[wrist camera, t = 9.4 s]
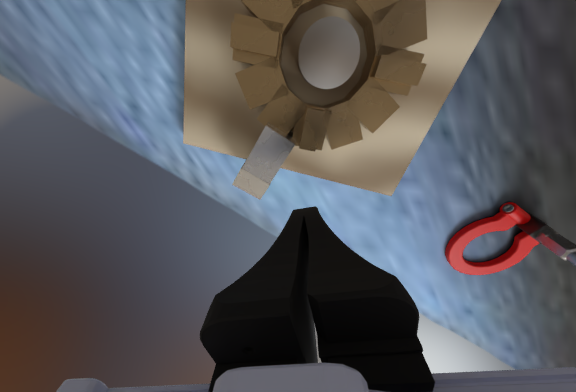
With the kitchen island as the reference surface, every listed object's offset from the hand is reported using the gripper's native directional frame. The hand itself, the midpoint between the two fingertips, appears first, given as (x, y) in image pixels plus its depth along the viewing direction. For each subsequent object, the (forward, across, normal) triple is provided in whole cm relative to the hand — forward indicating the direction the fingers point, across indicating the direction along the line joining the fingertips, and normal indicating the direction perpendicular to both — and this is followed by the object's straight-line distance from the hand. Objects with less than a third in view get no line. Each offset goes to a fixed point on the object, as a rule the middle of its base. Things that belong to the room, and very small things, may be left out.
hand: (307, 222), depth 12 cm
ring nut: (+8, -2, -6) cm, 10 cm away
